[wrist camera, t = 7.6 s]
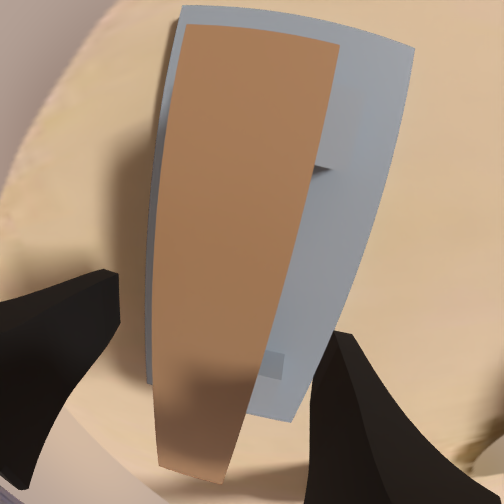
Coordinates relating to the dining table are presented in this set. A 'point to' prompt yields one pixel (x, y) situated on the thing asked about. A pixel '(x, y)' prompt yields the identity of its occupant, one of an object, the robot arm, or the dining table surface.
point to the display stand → (312, 193)
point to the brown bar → (228, 227)
